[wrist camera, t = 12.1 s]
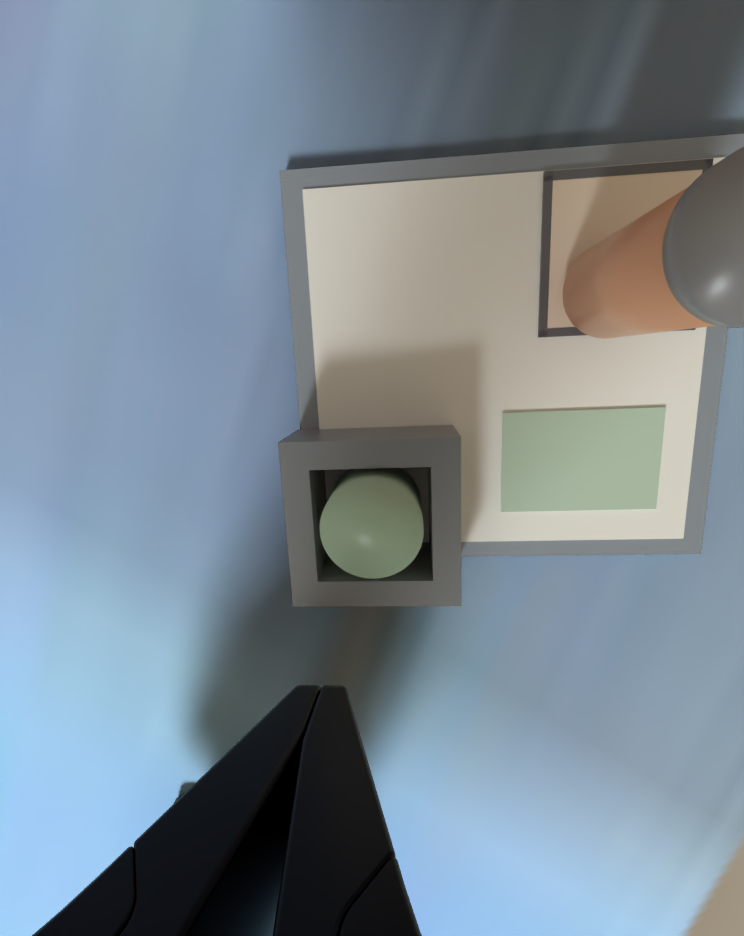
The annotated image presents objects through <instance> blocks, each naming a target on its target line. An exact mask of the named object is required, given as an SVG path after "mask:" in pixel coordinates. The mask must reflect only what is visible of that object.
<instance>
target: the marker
mask: <svg viewBox="0 0 744 936" xmlns="http://www.w3.org/2000/svg"><path fill="white" fill-rule="evenodd" d="M563 305H564V308H565V312H566V314H567V316H568V318H569V320H570V321H571V322H572V324H573V325H574V326H575V327H576V328H577V329H578V330H580V331H581V332H583V333H584V334H587V335H589V336H592V337H595V338H606V339H607V338H616V337H625V336H633V335H641V334H650V333H658V332H667V331H675V330H684V329H692V328H700V327H709V326H721V327H729V328H740V327H744V147H742V148H740V149H738V150H737V151H735V152H733V153H732V154H730V155H728V156H727V157H725V158H724V159H722V160H721V161H719V162H718V163H716V164H715V165H713V166H712V167H710V168H709V169H708V170H706V171H705V172H703V173H702V174H701V175H700V176H699V177H698V178H697V179H696V180H695V181H694V182H693V183H692V184H691V185H690V186H689V187H687V188H686V189H684V190H682V191H681V192H679V193H678V194H676V195H674V196H673V197H671V198H670V199H668V200H666V201H665V202H663V203H662V204H660V205H658V206H657V207H655V208H654V209H652V210H650V211H649V212H647V213H646V214H644V215H642V216H641V217H639V218H638V219H636V220H634V221H633V222H631V223H630V224H628V225H626V226H625V227H623V228H622V229H620V230H618V231H617V232H615V233H614V234H612V235H610V236H609V237H607V238H606V239H604V240H602V241H601V242H599V243H598V244H596V245H594V246H593V247H591V248H590V249H588V250H587V251H585V252H584V253H583V254H582V255H581V256H579V257H578V258H577V260H576V261H575V262H574V263H573V265H572V266H571V268H570V270H569V271H568V273H567V276H566V279H565V282H564V286H563Z"/></svg>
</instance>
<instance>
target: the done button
mask: <svg viewBox="0 0 744 936" xmlns="http://www.w3.org/2000/svg"><path fill="white" fill-rule="evenodd" d="M320 537H321V541H322V544H323V547H324V549H325V551H326V553H327V554H328V556H329V557H330V558H331V560H332V561H333V562H334V563H335V564H336V565H337V566H339V567H340V568H341V569H343V570H344V571H346V572H348V573H350V574H352V575H355V576H358V577H362V578H369V579H377V578H384V577H388V576H391V575H394V574H396V573H398V572H400V571H402V570H403V569H405V568H406V567H407V566H408V565H409V564H410V563H411V562H412V561H413V560H414V559H415V557H416V556H417V554H418V552H419V550H420V548H421V545H422V542H423V537H424V525H423V515H422V505H421V496H420V492H419V490H418V487H417V485H416V483H415V482H414V480H413V479H412V477H411V476H410V475H409V474H408V473H407V472H405V471H404V470H403V469H401V468H374V469H350V470H348V471H347V472H346V473H345V474H344V475H343V476H342V478H341V479H340V480H339V482H338V484H337V485H336V487H335V489H334V491H333V493H332V495H331V496H330V498H329V500H328V502H327V504H326V505H325V507H324V510H323V512H322V515H321V519H320Z"/></svg>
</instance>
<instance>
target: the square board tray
mask: <svg viewBox="0 0 744 936" xmlns="http://www.w3.org/2000/svg"><path fill="white" fill-rule="evenodd" d="M742 147H744V133H743V134H730V135H718V136H705V137H693V138H680V139H668V140H655V141H643V142H630V143H618V144H605V145H593V146H580V147H568V148H555V149H543V150H530V151H518V152H505V153H493V154H480V155H468V156H455V157H443V158H430V159H418V160H405V161H393V162H380V163H368V164H355V165H343V166H330V167H318V168H305V169H293V170H280V183H281V195H282V208H283V220H284V233H285V245H286V258H287V270H288V283H289V295H290V308H291V320H292V333H293V345H294V358H295V371H296V383H297V396H298V408H299V421H300V430H297V431H295V432H294V433H292V434H291V435H289V436H287V437H286V438H284V439H283V440H281V441H280V442H278V448H279V459H280V470H281V481H282V492H283V503H284V514H285V525H286V536H287V547H288V558H289V569H290V580H291V591H292V602H293V607H360V606H461V557H468V556H551V555H635V554H701V549H702V541H703V533H704V524H705V516H706V508H707V499H708V491H709V483H710V475H711V466H712V458H713V450H714V441H715V433H716V425H717V416H718V408H719V400H720V391H721V383H722V375H723V366H724V358H725V350H726V341H727V333H728V327H721V326H709V327H700V328H692V329H684V330H675V331H667V332H658V333H650V334H641V335H633V336H625V337H616V338H607V339H606V338H595V337H592V336H589V335H587V334H584V333H583V332H581V331H580V330H578V329H577V328H576V327H575V326H574V325H573V324H572V322H571V321H570V320H569V318H568V316H567V314H566V312H565V308H564V305H563V286H564V282H565V279H566V276H567V273H568V271H569V270H570V268H571V266H572V265H573V263H574V262H575V261H576V260H577V258H578V257H579V256H581V255H582V254H583V253H584V252H585V251H587V250H588V249H590V248H591V247H593V246H594V245H596V244H598V243H599V242H601V241H602V240H604V239H606V238H607V237H609V236H610V235H612V234H614V233H615V232H617V231H618V230H620V229H622V228H623V227H625V226H626V225H628V224H630V223H631V222H633V221H634V220H636V219H638V218H639V217H641V216H642V215H644V214H646V213H647V212H649V211H650V210H652V209H654V208H655V207H657V206H658V205H660V204H662V203H663V202H665V201H666V200H668V199H670V198H671V197H673V196H674V195H676V194H678V193H679V192H681V191H682V190H684V189H686V188H687V187H689V186H690V185H691V184H692V183H693V182H694V181H695V180H696V179H697V178H698V177H699V176H700V175H701V174H702V173H703V172H705V171H706V170H708V169H709V168H710V167H712V166H713V165H715V164H716V163H718V162H719V161H721V160H722V159H724V158H725V157H727V156H728V155H730V154H732V153H733V152H735V151H737V150H738V149H740V148H742ZM374 468H401V469H403V470H404V471H405V472H407V473H408V474H409V475H410V476H411V477H412V479H413V480H414V482H415V483H416V485H417V487H418V490H419V492H420V496H421V505H422V515H423V525H424V537H423V542H422V545H421V548H420V550H419V552H418V554H417V556H416V557H415V559H414V560H413V561H412V562H411V563H410V564H409V565H408V566H407V567H406V568H405V569H403V570H402V571H400V572H398V573H396V574H394V575H391V576H388V577H384V578H377V579H369V578H362V577H358V576H355V575H352V574H350V573H348V572H346V571H344V570H343V569H341V568H340V567H339V566H337V565H336V564H335V563H334V562H333V561H332V560H331V558H330V557H329V556H328V554H327V553H326V551H325V549H324V547H323V544H322V541H321V537H320V519H321V515H322V512H323V510H324V507H325V505H326V504H327V502H328V500H329V498H330V496H331V495H332V493H333V491H334V489H335V487H336V485H337V484H338V482H339V480H340V479H341V478H342V476H343V475H344V474H345V473H346V472H347V471H348V470H350V469H374Z"/></svg>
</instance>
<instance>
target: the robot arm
mask: <svg viewBox="0 0 744 936" xmlns="http://www.w3.org/2000/svg"><path fill="white" fill-rule="evenodd" d="M32 936H422V935H421V933H420V930H419V927H418V924H417V921H416V918H415V915H414V912H413V909H412V906H411V903H410V900H409V897H408V894H407V891H406V888H405V885H404V882H403V878H402V875H401V871H400V868H399V865H398V861H397V859H396V858H395V852H394V849H393V845H392V842H391V839H390V835H389V832H388V828H387V825H386V822H385V818H384V815H383V811H382V808H381V805H380V801H379V798H378V795H377V791H376V788H375V784H374V781H373V778H372V774H371V771H370V768H369V764H368V761H367V757H366V754H365V751H364V747H363V744H362V741H361V737H360V734H359V730H358V727H357V724H356V720H355V717H354V714H353V710H352V707H351V703H350V700H349V697H348V693H347V690H346V688H345V687H344V686H323V687H322V688H320V687H319V686H317V685H299V686H297V687H295V688H294V689H293V690H292V691H291V692H290V693H289V694H288V695H287V696H286V697H285V698H284V699H283V700H281V701H280V702H279V703H278V704H277V705H276V706H275V707H274V708H273V709H272V710H271V711H270V712H269V713H268V714H267V715H266V716H265V717H264V718H263V719H262V720H261V721H260V722H259V723H258V724H257V725H255V726H254V727H253V728H252V729H251V730H250V731H249V732H248V733H247V734H246V735H245V736H244V737H243V738H242V739H241V740H240V741H239V742H238V743H237V744H236V745H235V746H234V747H233V748H232V749H231V750H229V751H228V752H227V753H226V754H225V755H224V756H223V757H222V758H221V759H220V760H219V761H218V762H217V763H216V764H215V765H214V766H213V767H212V768H211V769H210V770H209V771H208V772H207V773H206V774H205V775H203V776H202V777H201V778H200V779H199V780H198V781H197V782H196V783H195V784H194V785H193V786H192V787H191V788H190V789H189V790H188V791H187V792H186V793H185V794H184V795H183V796H179V797H177V798H176V800H175V802H174V804H173V805H172V806H171V807H170V808H169V809H168V810H167V811H166V812H165V813H164V814H163V815H162V816H161V817H160V818H159V819H158V820H157V821H156V822H155V823H154V824H153V825H151V826H150V827H149V828H148V829H147V830H146V831H145V832H144V833H143V834H142V835H141V836H140V837H139V838H138V839H137V840H136V841H135V843H134V848H133V847H128V848H127V849H126V850H125V851H124V852H123V853H122V854H121V855H120V856H119V857H118V858H117V859H116V860H115V861H114V862H113V863H112V864H111V865H110V866H109V867H108V868H106V869H105V870H104V871H103V872H102V873H101V874H100V875H99V876H98V877H97V878H96V879H95V880H94V881H93V882H91V883H90V884H89V885H88V886H87V887H86V888H85V889H84V890H83V891H82V892H81V893H80V894H78V895H77V896H76V897H75V898H74V899H73V900H72V901H71V902H70V903H69V904H68V905H67V906H65V907H64V908H63V909H62V910H61V911H60V912H59V913H58V914H56V915H55V916H54V917H53V918H52V919H51V920H50V921H48V922H47V923H46V924H45V925H44V926H43V927H41V928H40V929H39V930H38V931H37V932H36V933H35V934H33V935H32Z"/></svg>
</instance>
